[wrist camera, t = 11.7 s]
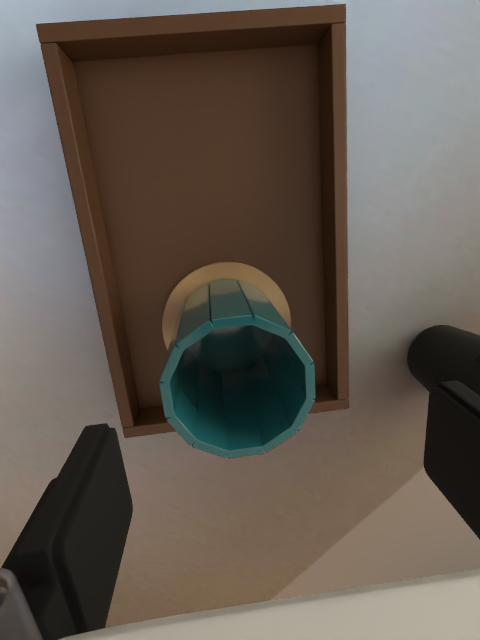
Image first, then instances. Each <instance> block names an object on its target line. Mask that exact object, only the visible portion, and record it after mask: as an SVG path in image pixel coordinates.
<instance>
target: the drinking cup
mask: <svg viewBox="0 0 480 640" xmlns="http://www.w3.org/2000/svg"><path fill="white" fill-rule="evenodd" d="M407 360H408V367H409V369H410V371H411V373H412V374H413V376H414V377H415V378H416V379H417V380H418V381H419V382H420V383H421V384H422V385H423V386H424V387H425V388H426V389H427V390H428V391H429V392H430V390H431V389H432V388H434V386H435V385H436V384H437V383H441V382H449V381H459V382H461V383H462V384H464V385H465V386H467V387H468V388H469V389H471V390H472V391H474V392H475V393H477V394H478V395H479V396H480V335H476V334H473V333H470V332H467V331H464V330H461V329H458V328H455V327H451V326H447V325H439V326H434V327H431V328H429V329H427V330H425V331H423V332H422V333H421V334H420V335H418V336H417V337H416V339H415V340H414V341H413V343H412V344H411V346H410V349H409V352H408V358H407Z"/></svg>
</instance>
